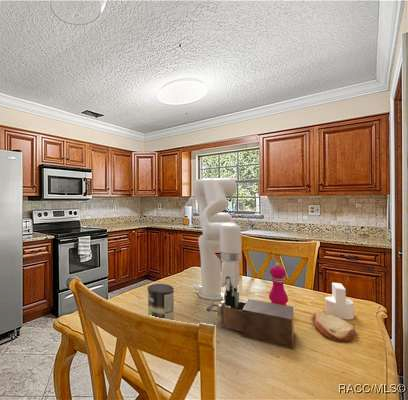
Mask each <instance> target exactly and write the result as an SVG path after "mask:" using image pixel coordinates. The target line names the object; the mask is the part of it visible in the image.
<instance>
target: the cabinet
mask: <svg viewBox="0 0 408 400" xmlns="http://www.w3.org/2000/svg"><path fill="white" fill-rule="evenodd" d="M286 305H287V304H286ZM286 305H281V304H275V303H271V302H268V301H262V300H258V299H257V300H256V299H251V298H247V300H246V304H245V306H244V308H243V309H242V317H243V331H242V337H243V338H247V339H252V340H255V341H259V342H263V343H268V344H272V345H275V346H280V347H283V348H287V349H291V350H293V348H294V338H295V337H294V336H295V323H294V321H295V319H294V306H291V305H287V306H286Z"/></svg>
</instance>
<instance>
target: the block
mask: <svg viewBox="0 0 408 400" xmlns="http://www.w3.org/2000/svg"><path fill="white" fill-rule="evenodd" d="M223 293H224V298H223V299H224V301H225V305H226V291H225V292H223ZM234 296H235V307H238V305H239V301H240V291H237V292H234Z"/></svg>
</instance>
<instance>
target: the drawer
mask: <svg viewBox="0 0 408 400" xmlns="http://www.w3.org/2000/svg"><path fill="white" fill-rule="evenodd" d="M246 302H247V301H246ZM246 302H245V301H240V300H239V305H238V307H230V306H226V305H225V301H224V298H223V299H221V301H220V302H219V304H216V303H215V302H211V303H210V304H209V305H208V306H207V307H206V309H205V310H206V312H207V313H210V312H213V313H217V315H216V317H217V318H216V320H217V328H219V329H222V327H223V326H224V327H225V328H226V329H230V330H234V331H239V332H243V317H242V309H243V308H244V306H245V304H246ZM214 307H216V309H213V308H214Z"/></svg>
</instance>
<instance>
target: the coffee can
mask: <svg viewBox="0 0 408 400" xmlns="http://www.w3.org/2000/svg"><path fill="white" fill-rule="evenodd" d="M174 291H175V288H174V287H173V286H171V285H169V284H164V283H154V284H150V285H148V286H147V303H148V304H147V306H148V311H147V312H148V316H149V315H152V316H155V317H159V318H165V319H170V320H174V321H175V304H174V302H175V301H174V299H175V298H174V297H175V296H174V294H175V293H174Z"/></svg>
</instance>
